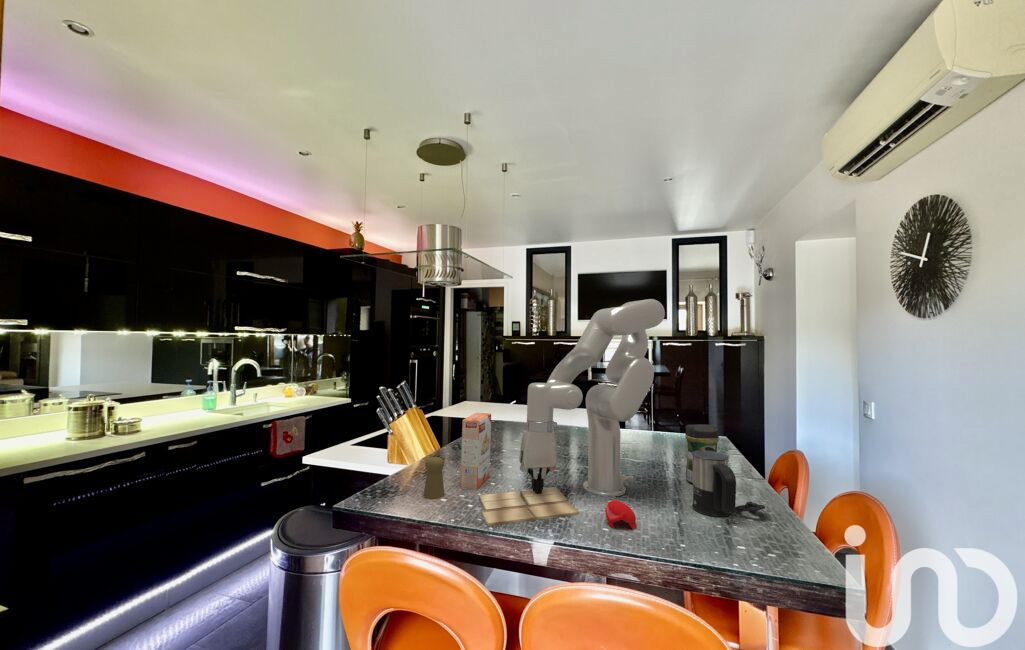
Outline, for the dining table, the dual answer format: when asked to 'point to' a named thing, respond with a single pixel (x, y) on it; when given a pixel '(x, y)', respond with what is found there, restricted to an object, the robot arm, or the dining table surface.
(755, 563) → the dining table surface
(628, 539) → the dining table surface
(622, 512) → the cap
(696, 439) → the coffee jar
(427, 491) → the cork
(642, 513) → the dining table surface
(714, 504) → the milk frother
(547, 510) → the laid board
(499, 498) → the plank
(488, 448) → the cracker box
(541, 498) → the plank
